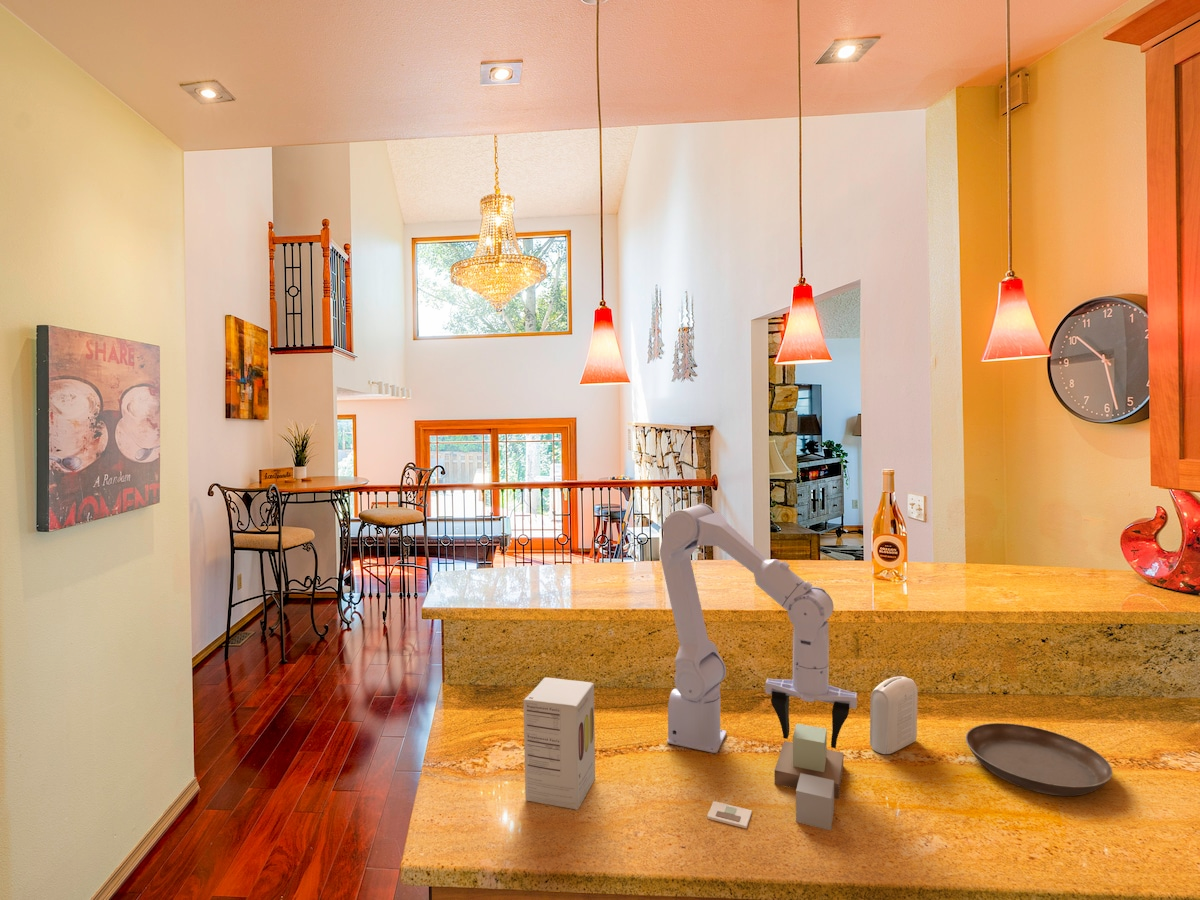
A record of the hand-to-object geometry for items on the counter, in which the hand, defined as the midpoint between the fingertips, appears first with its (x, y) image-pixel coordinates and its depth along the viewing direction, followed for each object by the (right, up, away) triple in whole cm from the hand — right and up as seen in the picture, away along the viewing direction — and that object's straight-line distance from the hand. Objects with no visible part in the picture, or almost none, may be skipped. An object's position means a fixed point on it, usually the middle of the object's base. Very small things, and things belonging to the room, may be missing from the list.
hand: (809, 740), depth 108 cm
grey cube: (-3, -7, -10) cm, 13 cm away
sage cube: (0, -4, 0) cm, 4 cm away
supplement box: (-42, -7, -3) cm, 43 cm away
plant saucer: (+39, -6, +1) cm, 39 cm away
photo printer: (+19, -5, +10) cm, 22 cm away
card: (-16, -7, -10) cm, 20 cm away
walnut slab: (0, -7, 0) cm, 7 cm away
